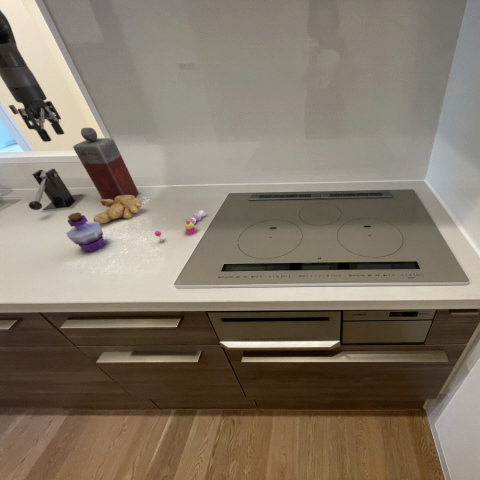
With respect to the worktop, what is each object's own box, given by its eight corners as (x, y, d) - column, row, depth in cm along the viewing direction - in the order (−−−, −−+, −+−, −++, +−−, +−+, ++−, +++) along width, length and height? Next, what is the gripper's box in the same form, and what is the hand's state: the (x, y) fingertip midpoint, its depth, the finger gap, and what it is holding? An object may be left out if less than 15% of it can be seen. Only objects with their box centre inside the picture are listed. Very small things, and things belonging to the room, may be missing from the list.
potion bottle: (82, 243, 85) (60, 211, 78) (113, 236, 88) (94, 205, 80) (75, 259, 78) (50, 226, 71) (109, 251, 81) (88, 218, 74)
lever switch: (71, 209, 103) (48, 175, 94) (44, 212, 101) (19, 178, 93) (84, 196, 111) (65, 164, 103) (60, 199, 110) (38, 167, 102)
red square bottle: (113, 194, 112) (76, 125, 95) (139, 194, 112) (106, 124, 95) (99, 205, 105) (56, 131, 88) (127, 204, 105) (89, 131, 88)
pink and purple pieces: (194, 215, 98) (189, 200, 94) (213, 218, 96) (208, 203, 92) (157, 243, 84) (150, 228, 80) (178, 248, 82) (171, 232, 79)
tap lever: (43, 211, 93) (35, 205, 91) (32, 212, 93) (24, 207, 90) (55, 175, 101) (49, 169, 99) (46, 176, 101) (39, 170, 98)
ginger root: (147, 196, 107) (138, 180, 101) (150, 223, 98) (140, 207, 92) (103, 206, 103) (90, 190, 96) (101, 235, 94) (87, 219, 87)
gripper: (22, 81, 87) (53, 133, 97) (-9, 87, 76) (29, 144, 86) (49, 80, 88) (76, 131, 98) (22, 86, 77) (56, 142, 87)
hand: (54, 137), depth 92 cm, fingers open, 8 cm apart
